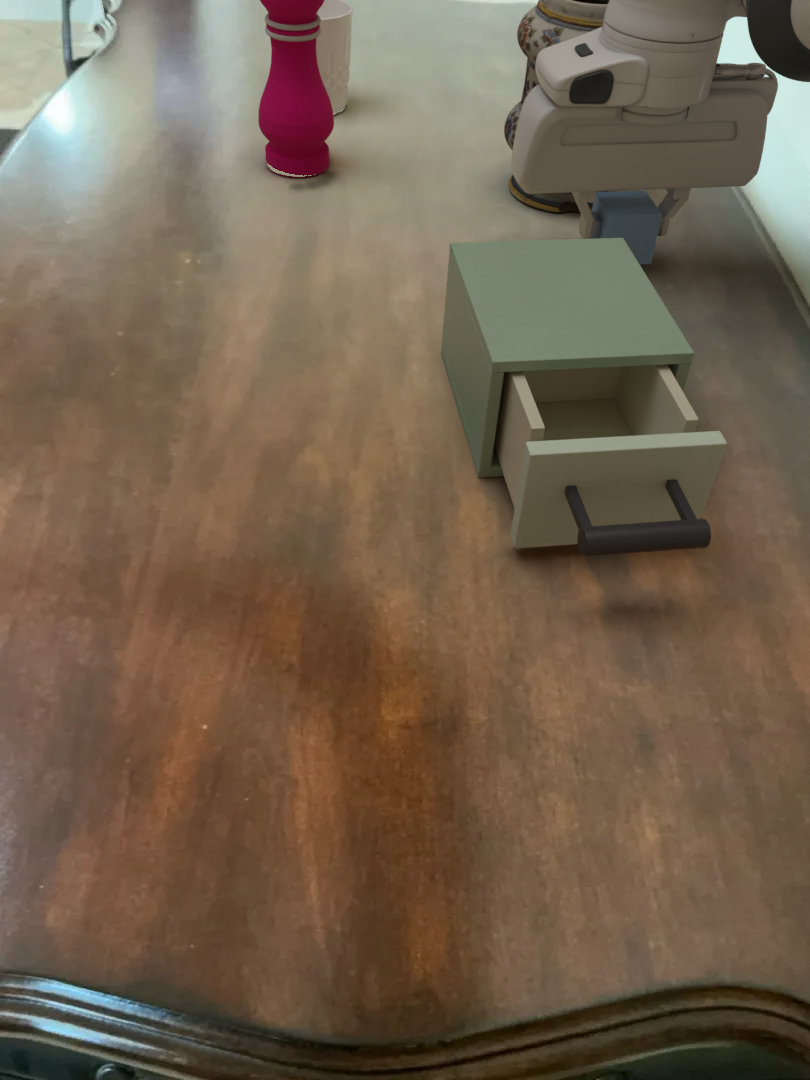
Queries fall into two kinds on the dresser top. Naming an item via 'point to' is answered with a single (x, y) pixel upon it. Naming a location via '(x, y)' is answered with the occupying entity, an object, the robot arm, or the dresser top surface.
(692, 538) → the drawer
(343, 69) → the white cup
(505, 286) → the green drawer cabinet
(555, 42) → the apothecary jar
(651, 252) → the slate blue block
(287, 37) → the pepper mill
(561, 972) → the dresser top surface
